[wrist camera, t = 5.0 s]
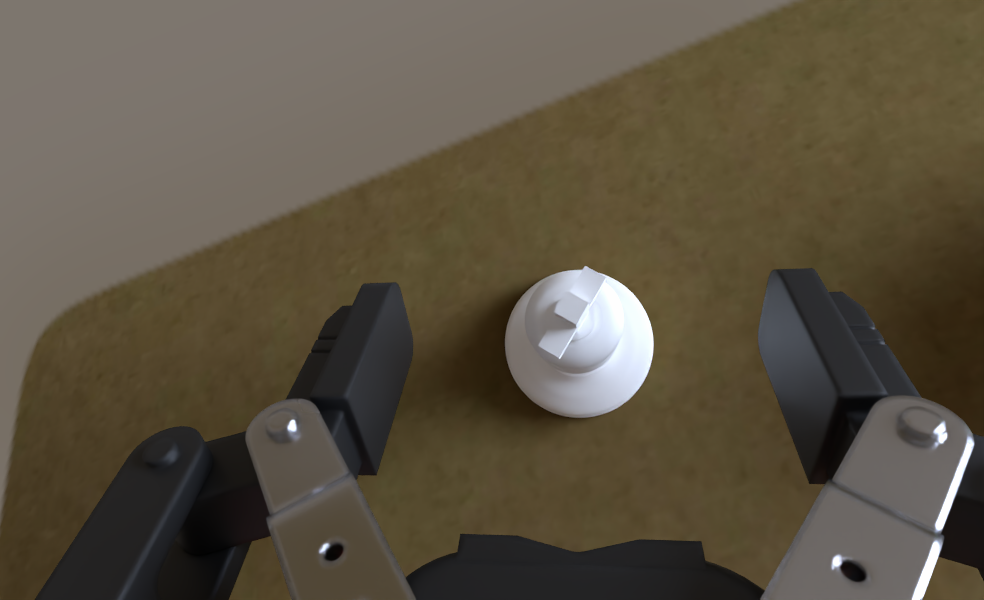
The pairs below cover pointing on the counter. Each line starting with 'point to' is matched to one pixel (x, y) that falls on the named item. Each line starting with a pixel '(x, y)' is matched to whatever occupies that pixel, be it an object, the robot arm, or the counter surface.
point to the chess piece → (579, 343)
